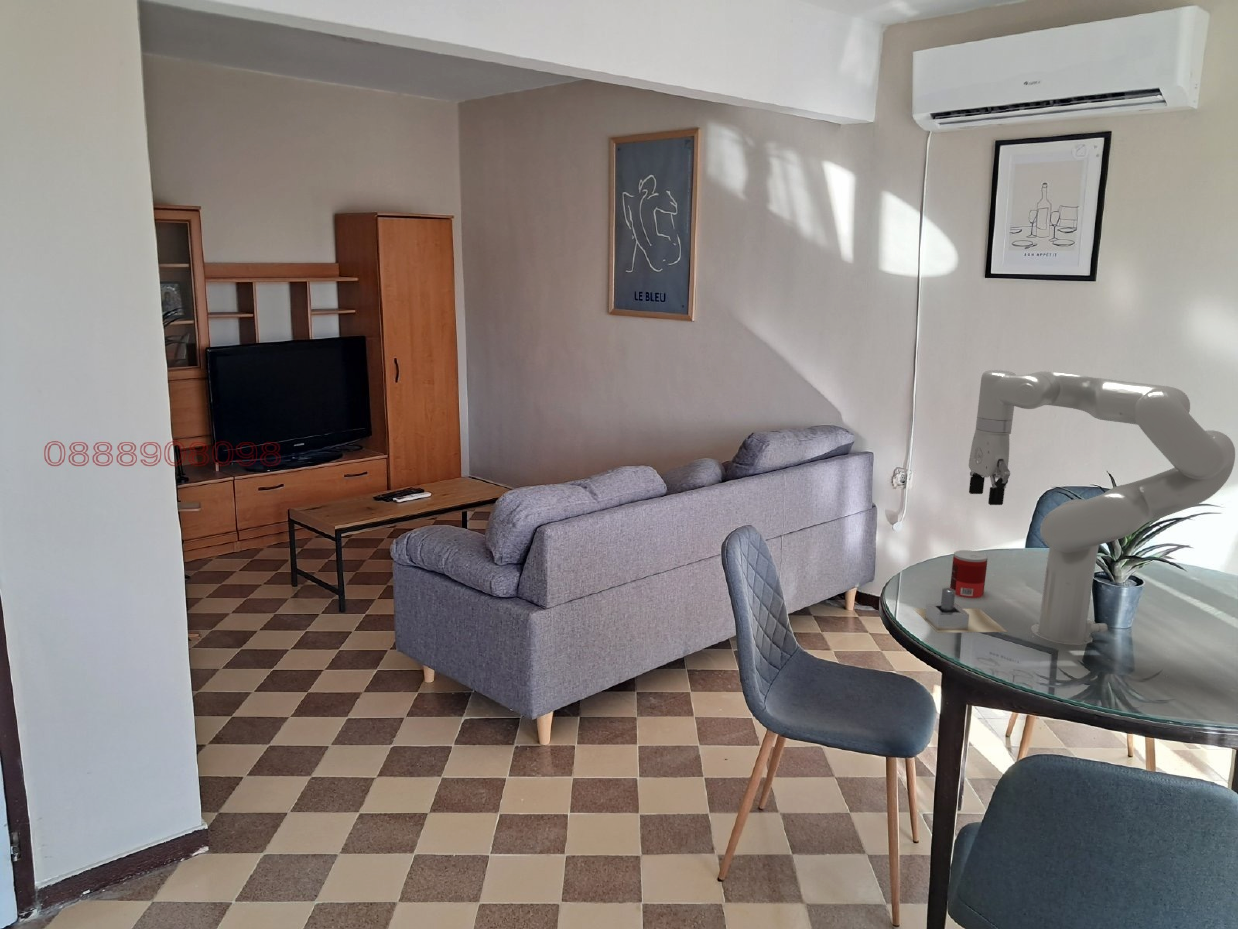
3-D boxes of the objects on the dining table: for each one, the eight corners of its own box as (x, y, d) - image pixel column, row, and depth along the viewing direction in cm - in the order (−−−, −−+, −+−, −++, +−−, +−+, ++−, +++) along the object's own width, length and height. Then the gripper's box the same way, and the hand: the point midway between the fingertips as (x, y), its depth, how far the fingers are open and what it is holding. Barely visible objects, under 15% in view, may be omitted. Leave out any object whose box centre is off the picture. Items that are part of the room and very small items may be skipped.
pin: (948, 621, 217) (952, 588, 216) (954, 626, 215) (957, 592, 213) (936, 621, 217) (940, 588, 215) (942, 626, 214) (945, 592, 213)
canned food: (989, 600, 235) (994, 557, 232) (963, 604, 232) (968, 561, 230) (968, 590, 242) (972, 548, 239) (942, 593, 239) (947, 551, 237)
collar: (954, 617, 220) (955, 603, 219) (967, 629, 213) (969, 614, 212) (924, 618, 219) (926, 603, 218) (937, 629, 212) (939, 615, 211)
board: (978, 613, 226) (978, 608, 226) (1006, 636, 212) (1007, 631, 212) (913, 614, 225) (913, 609, 224) (937, 637, 211) (938, 632, 211)
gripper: (961, 418, 223) (953, 489, 227) (995, 432, 206) (987, 509, 210) (991, 419, 224) (983, 489, 227) (1029, 433, 207) (1019, 509, 211)
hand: (985, 499), depth 219 cm, fingers open, 9 cm apart
